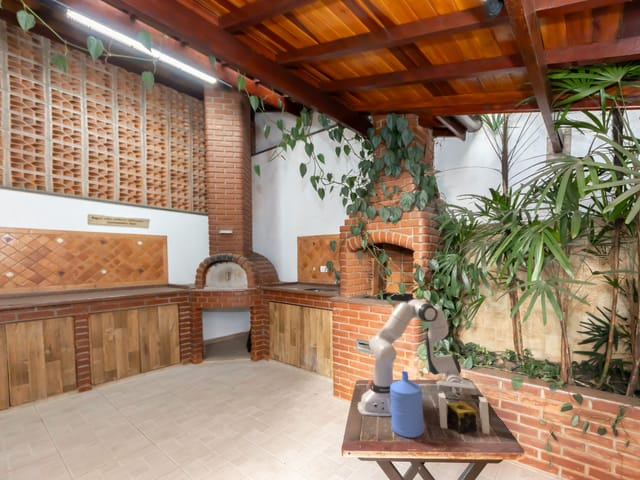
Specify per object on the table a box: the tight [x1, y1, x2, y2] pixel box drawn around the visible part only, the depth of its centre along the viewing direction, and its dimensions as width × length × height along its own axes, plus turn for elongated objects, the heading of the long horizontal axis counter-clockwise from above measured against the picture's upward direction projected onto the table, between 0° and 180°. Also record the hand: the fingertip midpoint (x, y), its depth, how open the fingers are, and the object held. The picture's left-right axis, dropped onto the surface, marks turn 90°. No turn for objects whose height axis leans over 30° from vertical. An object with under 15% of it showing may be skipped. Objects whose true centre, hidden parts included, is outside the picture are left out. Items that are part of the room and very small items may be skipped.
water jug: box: [390, 370, 425, 439], centre depth 152 cm, size 16×16×28 cm
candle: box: [446, 401, 478, 434], centre depth 152 cm, size 10×10×10 cm
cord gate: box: [438, 392, 490, 435], centre depth 151 cm, size 22×5×15 cm, turn 73°
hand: (458, 393), depth 163 cm, fingers closed
